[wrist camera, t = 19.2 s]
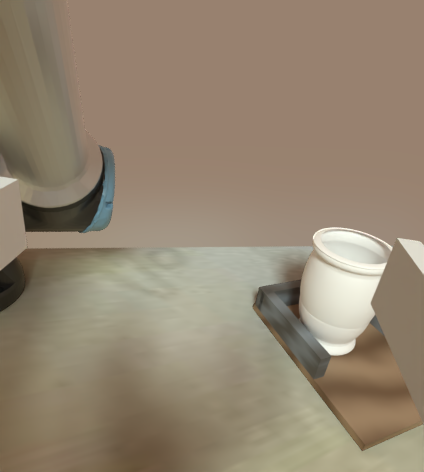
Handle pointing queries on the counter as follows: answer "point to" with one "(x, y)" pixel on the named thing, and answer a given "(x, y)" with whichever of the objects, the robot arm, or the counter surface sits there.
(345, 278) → the jar
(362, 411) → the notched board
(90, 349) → the counter surface
